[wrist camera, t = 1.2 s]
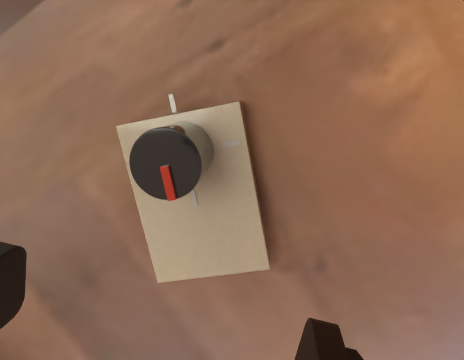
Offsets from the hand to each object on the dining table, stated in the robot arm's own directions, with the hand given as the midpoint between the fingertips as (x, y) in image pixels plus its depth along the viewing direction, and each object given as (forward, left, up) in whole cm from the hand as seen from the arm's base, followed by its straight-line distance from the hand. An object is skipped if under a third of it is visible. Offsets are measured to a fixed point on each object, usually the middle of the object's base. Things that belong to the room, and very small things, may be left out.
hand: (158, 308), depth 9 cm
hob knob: (-2, -3, -18) cm, 18 cm away
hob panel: (+2, -3, -20) cm, 20 cm away
